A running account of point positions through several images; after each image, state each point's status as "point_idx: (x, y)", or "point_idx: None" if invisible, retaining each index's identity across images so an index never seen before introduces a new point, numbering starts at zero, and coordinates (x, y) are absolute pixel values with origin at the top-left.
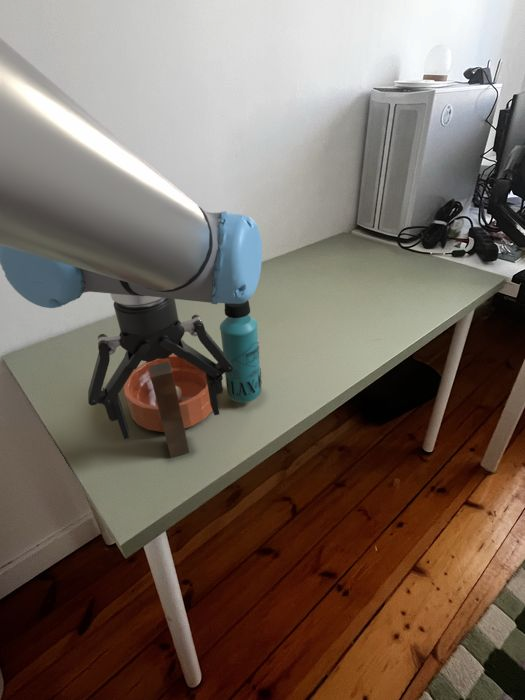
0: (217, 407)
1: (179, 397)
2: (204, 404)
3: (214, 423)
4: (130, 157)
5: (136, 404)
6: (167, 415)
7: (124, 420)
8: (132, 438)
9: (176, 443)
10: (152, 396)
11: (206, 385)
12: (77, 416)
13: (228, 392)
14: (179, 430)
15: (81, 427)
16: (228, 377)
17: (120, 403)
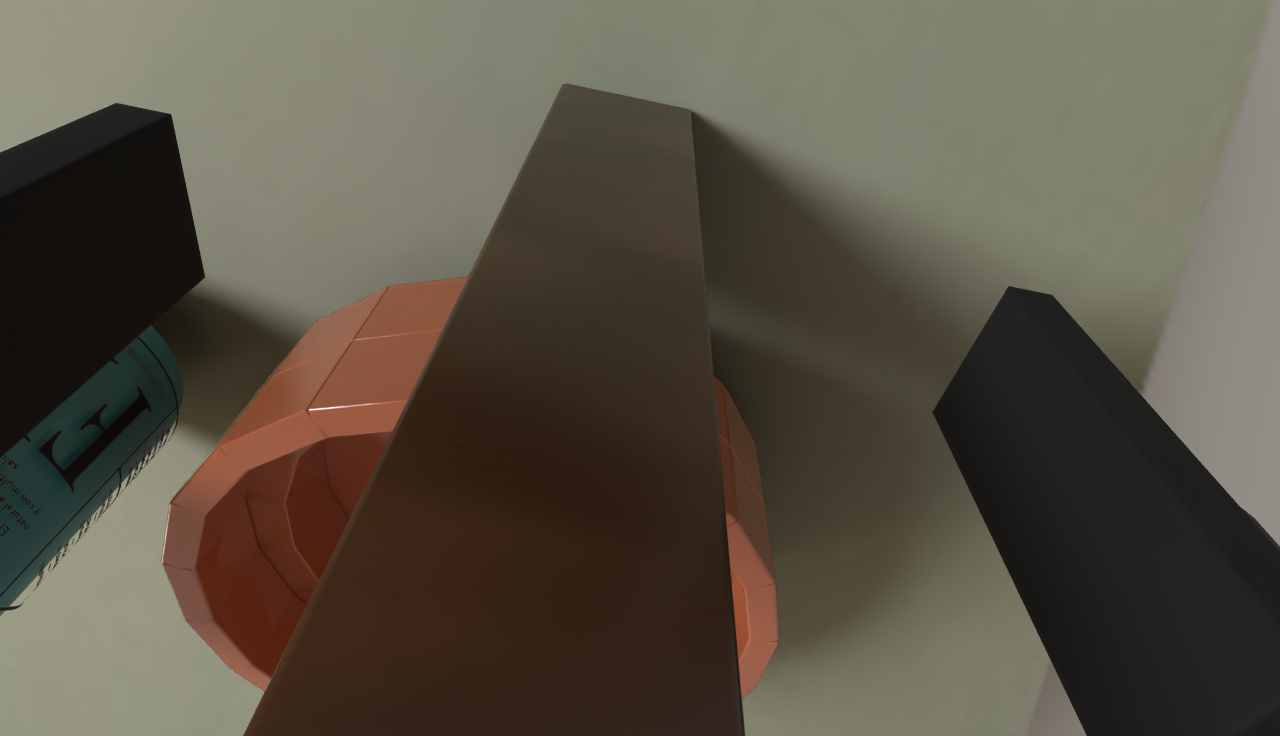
0: (51, 135)
1: None
2: (319, 359)
3: (337, 237)
4: None
5: (757, 556)
6: (632, 291)
7: (1080, 438)
8: (811, 380)
9: (628, 135)
10: None
11: (283, 496)
12: (946, 609)
13: (154, 388)
14: (569, 170)
15: (970, 553)
16: (30, 473)
17: (1094, 646)
